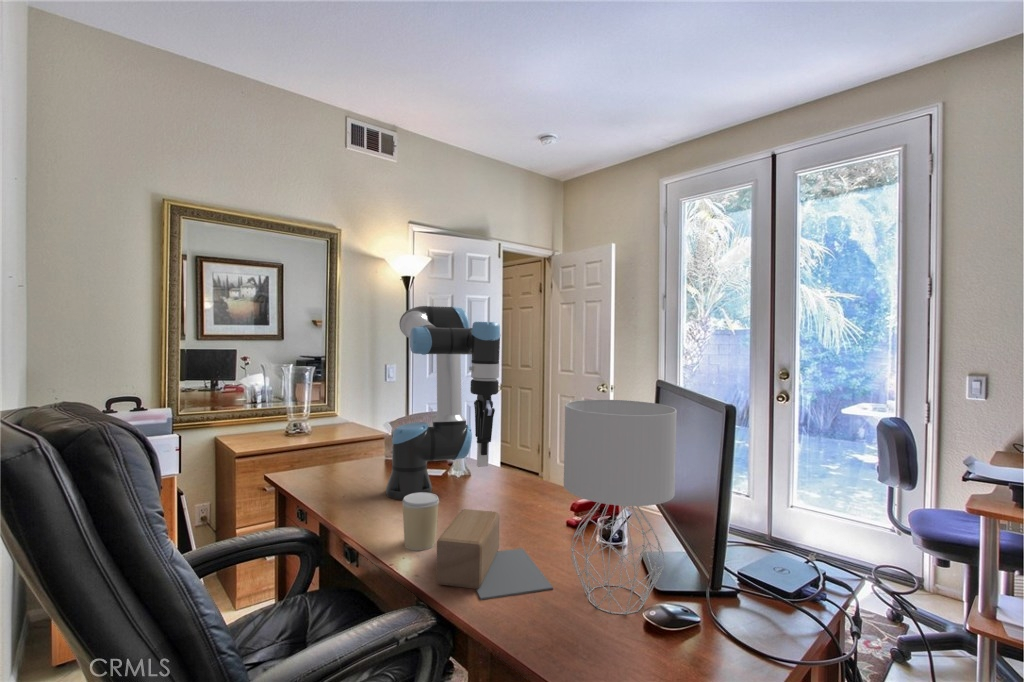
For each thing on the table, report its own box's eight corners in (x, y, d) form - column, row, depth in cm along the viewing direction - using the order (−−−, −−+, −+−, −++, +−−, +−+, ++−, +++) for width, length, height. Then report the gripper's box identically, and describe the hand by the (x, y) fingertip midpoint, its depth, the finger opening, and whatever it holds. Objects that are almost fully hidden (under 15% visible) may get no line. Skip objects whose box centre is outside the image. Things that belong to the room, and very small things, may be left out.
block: (499, 550, 122) (480, 591, 103) (461, 546, 124) (434, 585, 105) (500, 510, 122) (480, 543, 103) (461, 507, 124) (435, 539, 104)
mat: (460, 557, 119) (460, 555, 119) (522, 549, 124) (522, 548, 124) (480, 600, 100) (480, 598, 100) (553, 589, 105) (553, 587, 105)
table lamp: (561, 569, 114) (565, 398, 114) (659, 576, 112) (664, 401, 111) (560, 626, 92) (565, 412, 91) (684, 636, 89) (689, 417, 89)
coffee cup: (444, 539, 129) (445, 494, 129) (427, 554, 120) (428, 505, 120) (413, 534, 132) (414, 490, 132) (394, 548, 123) (395, 500, 123)
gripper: (465, 376, 137) (463, 460, 138) (476, 382, 124) (474, 473, 125) (491, 376, 139) (489, 458, 140) (505, 381, 127) (502, 472, 127)
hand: (482, 465), depth 132 cm, fingers closed
